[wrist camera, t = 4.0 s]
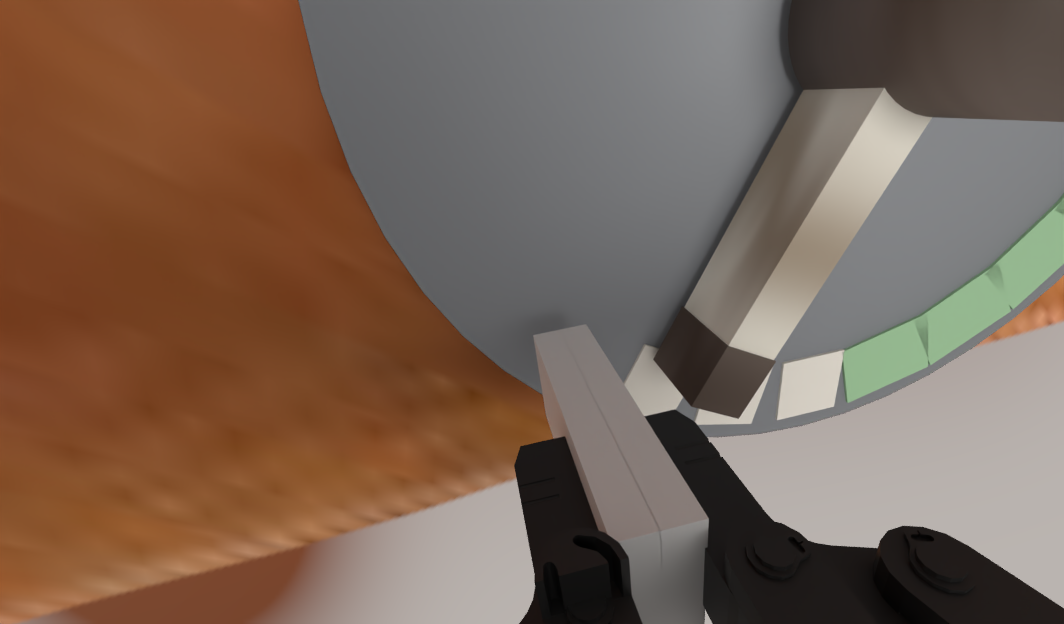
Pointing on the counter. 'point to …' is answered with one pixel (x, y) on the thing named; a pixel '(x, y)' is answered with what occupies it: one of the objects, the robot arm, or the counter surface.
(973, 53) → the needle
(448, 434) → the counter surface
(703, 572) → the robot arm
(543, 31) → the dial
